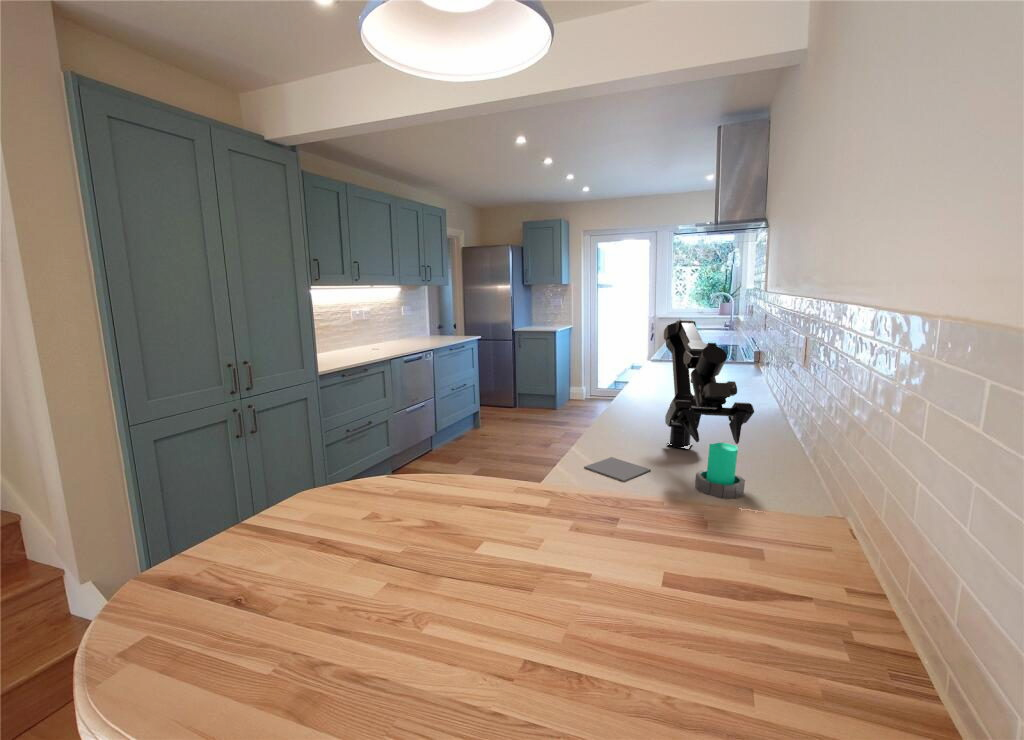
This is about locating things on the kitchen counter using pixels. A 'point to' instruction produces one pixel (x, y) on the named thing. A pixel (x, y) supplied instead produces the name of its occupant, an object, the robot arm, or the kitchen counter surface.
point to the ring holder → (719, 486)
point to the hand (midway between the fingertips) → (717, 442)
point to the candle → (722, 463)
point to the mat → (617, 469)
